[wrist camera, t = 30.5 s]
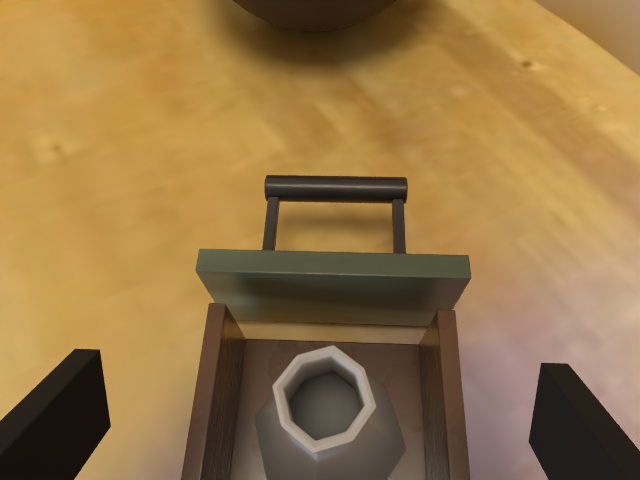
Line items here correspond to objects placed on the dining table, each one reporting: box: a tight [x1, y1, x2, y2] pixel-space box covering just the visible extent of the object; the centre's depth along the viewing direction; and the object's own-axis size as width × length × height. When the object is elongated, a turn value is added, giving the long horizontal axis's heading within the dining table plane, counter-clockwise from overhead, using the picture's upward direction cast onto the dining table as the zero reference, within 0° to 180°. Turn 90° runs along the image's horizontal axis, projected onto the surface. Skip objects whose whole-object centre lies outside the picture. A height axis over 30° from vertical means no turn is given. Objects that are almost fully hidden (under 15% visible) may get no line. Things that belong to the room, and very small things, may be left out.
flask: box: [254, 345, 406, 480], centre depth 20 cm, size 7×7×10 cm
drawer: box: [181, 175, 471, 480], centre depth 24 cm, size 22×13×7 cm, turn 178°
